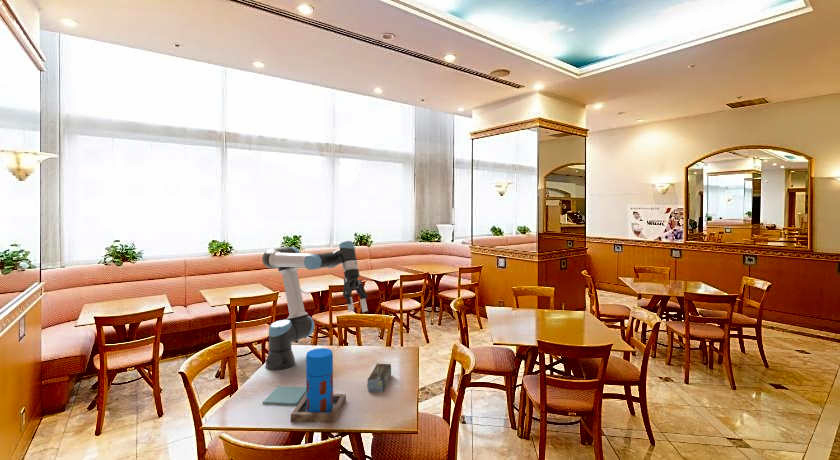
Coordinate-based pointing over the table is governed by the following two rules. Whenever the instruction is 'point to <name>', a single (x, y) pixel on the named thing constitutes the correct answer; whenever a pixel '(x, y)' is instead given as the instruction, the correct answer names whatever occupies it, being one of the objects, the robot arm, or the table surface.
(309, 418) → the dock
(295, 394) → the mat
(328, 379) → the thermos
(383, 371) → the beverage carton
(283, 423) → the table surface
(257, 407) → the table surface
